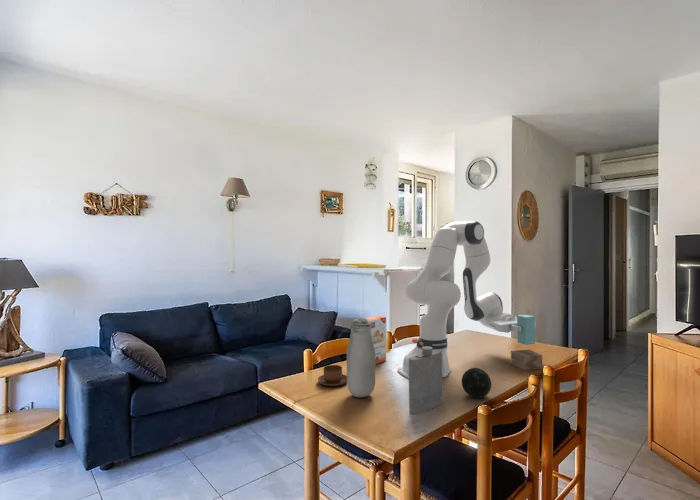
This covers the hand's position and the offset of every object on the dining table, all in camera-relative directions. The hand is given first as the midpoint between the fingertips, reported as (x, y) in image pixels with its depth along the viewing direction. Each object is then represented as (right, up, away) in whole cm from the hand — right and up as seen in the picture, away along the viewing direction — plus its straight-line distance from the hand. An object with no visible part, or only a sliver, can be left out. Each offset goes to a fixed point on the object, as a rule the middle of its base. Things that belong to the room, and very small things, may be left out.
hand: (527, 328), depth 171 cm
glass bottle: (-74, -18, -31) cm, 82 cm away
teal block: (0, -7, +1) cm, 7 cm away
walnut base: (0, -17, +1) cm, 17 cm away
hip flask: (-52, -18, -41) cm, 69 cm away
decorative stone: (-33, -18, -33) cm, 50 cm away
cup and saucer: (-85, -19, -17) cm, 88 cm away
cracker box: (-68, -18, +9) cm, 71 cm away
